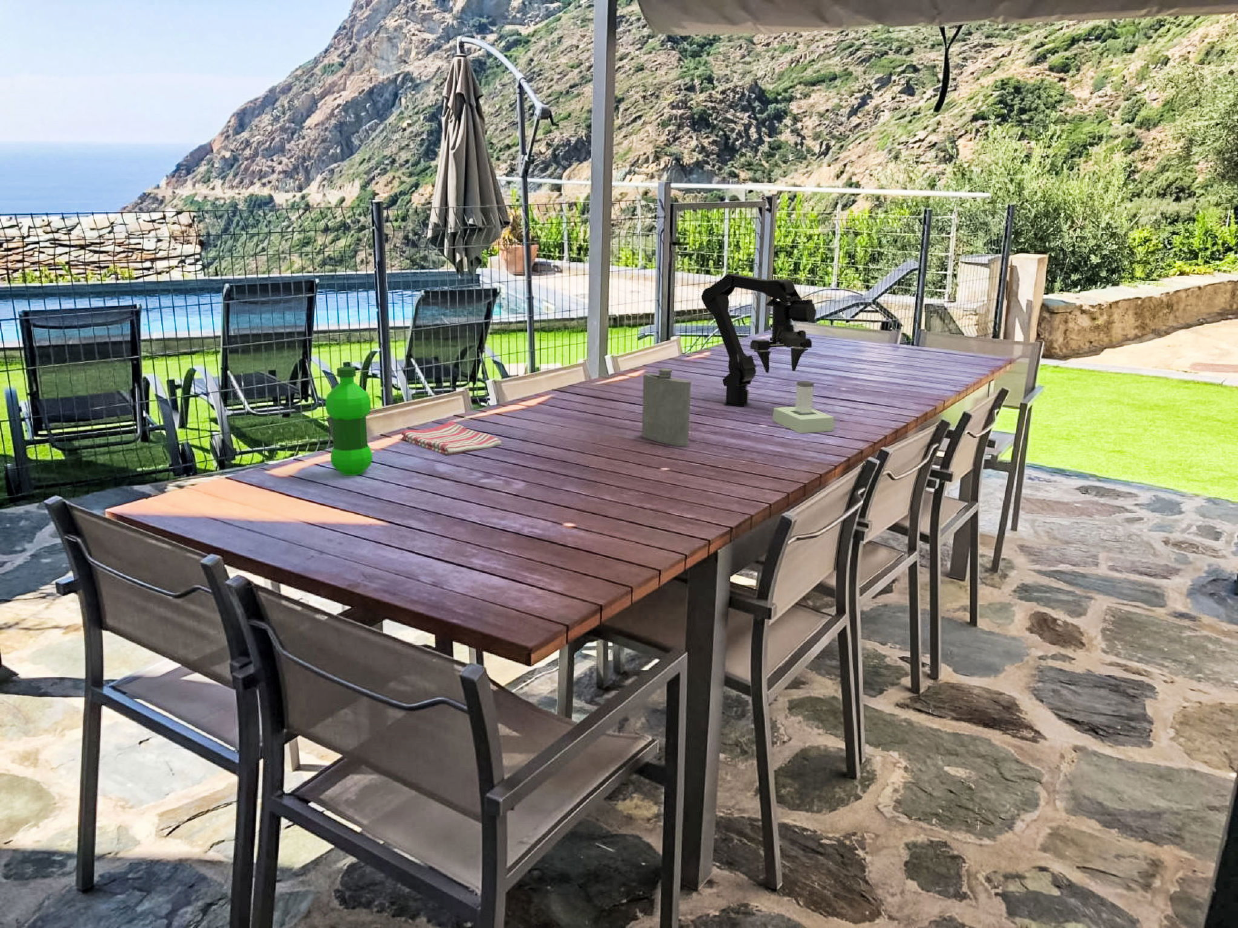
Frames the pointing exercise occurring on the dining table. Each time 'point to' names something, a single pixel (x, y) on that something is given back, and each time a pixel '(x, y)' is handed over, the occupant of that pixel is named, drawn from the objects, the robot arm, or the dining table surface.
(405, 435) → the dish towel
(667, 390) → the hip flask
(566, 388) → the dining table surface
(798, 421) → the post foot
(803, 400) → the pale grey square post
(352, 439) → the plastic bottle
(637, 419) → the dining table surface
